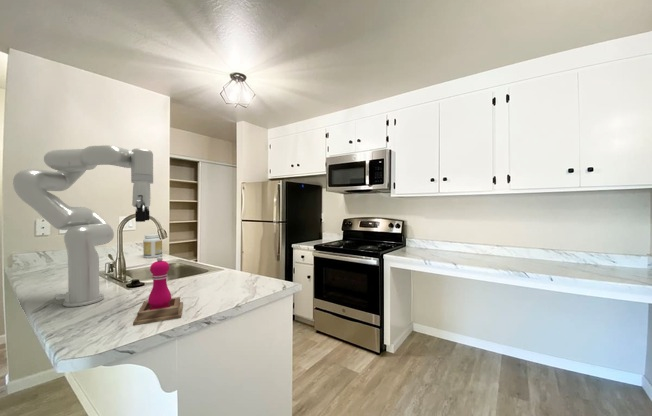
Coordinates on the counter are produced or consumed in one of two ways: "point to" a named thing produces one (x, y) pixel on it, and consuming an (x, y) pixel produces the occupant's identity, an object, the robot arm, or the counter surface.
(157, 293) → the pepper mill
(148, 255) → the supplement tub
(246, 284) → the counter surface
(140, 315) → the wooden tray
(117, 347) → the counter surface
